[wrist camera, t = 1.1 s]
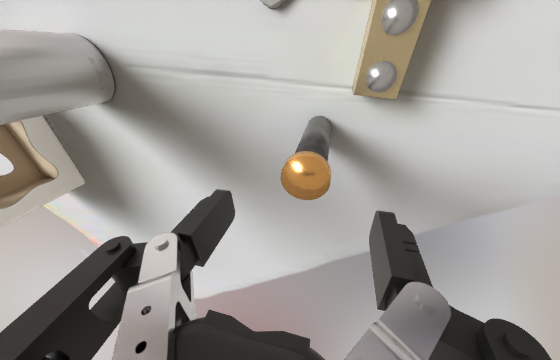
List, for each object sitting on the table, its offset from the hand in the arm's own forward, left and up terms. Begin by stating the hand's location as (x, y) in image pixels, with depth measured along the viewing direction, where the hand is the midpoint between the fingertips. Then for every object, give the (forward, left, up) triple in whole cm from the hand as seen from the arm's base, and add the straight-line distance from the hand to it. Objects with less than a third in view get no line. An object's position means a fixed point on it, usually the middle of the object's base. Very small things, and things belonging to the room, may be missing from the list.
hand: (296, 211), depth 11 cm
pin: (0, -1, -19) cm, 19 cm away
